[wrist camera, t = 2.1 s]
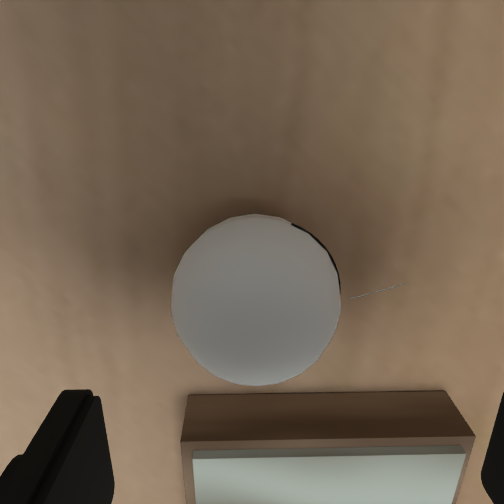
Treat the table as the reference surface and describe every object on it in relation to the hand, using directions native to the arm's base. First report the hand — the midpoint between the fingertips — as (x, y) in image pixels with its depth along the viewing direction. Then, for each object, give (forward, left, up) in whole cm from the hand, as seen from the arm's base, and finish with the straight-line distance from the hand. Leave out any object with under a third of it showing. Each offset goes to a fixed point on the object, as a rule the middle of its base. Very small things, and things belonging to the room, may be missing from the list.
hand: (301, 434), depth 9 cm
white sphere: (-1, 0, -8) cm, 8 cm away
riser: (+11, +2, -8) cm, 14 cm away
